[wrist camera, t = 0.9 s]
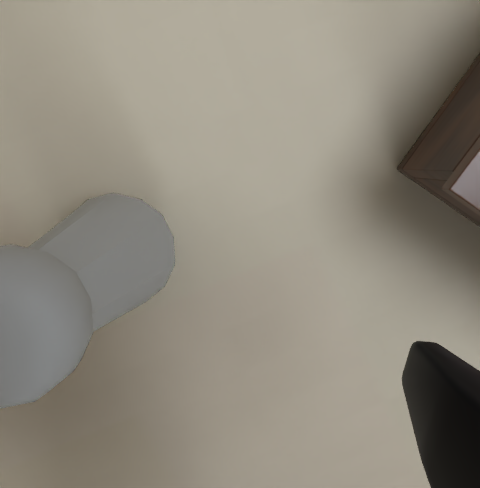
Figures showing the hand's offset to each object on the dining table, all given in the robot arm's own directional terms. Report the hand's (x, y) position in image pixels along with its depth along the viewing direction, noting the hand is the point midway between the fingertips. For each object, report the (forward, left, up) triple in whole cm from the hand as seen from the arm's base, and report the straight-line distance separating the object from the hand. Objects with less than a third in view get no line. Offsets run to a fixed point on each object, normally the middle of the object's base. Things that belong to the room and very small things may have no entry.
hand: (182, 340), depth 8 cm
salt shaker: (0, +5, -15) cm, 16 cm away
